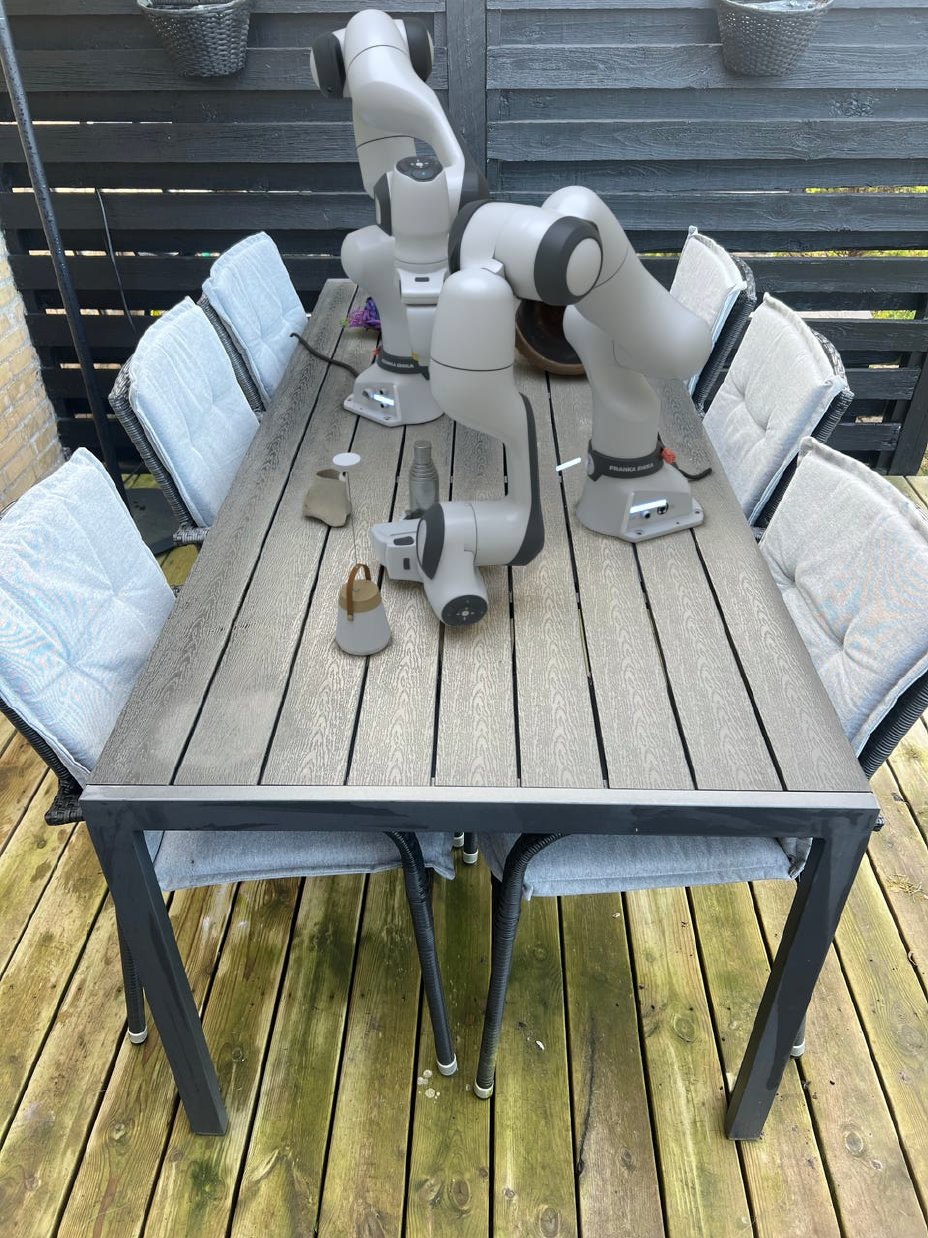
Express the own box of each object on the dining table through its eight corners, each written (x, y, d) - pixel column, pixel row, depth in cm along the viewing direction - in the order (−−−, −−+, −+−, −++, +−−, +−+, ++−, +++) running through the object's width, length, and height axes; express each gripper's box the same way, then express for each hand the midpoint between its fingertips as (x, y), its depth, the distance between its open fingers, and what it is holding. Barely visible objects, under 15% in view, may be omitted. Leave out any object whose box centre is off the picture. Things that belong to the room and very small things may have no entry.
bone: (352, 523, 169) (358, 468, 167) (345, 530, 162) (351, 474, 159) (303, 516, 169) (308, 461, 167) (294, 523, 162) (299, 466, 159)
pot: (527, 218, 229) (547, 194, 200) (639, 277, 234) (675, 262, 205) (471, 342, 235) (483, 336, 206) (582, 397, 240) (609, 398, 211)
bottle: (446, 540, 161) (444, 441, 150) (429, 553, 158) (425, 453, 146) (423, 531, 163) (419, 433, 152) (405, 544, 160) (400, 445, 149)
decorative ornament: (459, 312, 230) (337, 314, 227) (457, 347, 238) (340, 349, 236) (454, 280, 238) (336, 281, 235) (453, 315, 246) (339, 317, 244)
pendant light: (377, 661, 135) (361, 478, 117) (326, 649, 137) (303, 468, 119) (399, 628, 141) (388, 450, 123) (351, 617, 143) (332, 440, 125)
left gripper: (402, 251, 153) (405, 332, 162) (401, 297, 137) (404, 384, 146) (440, 251, 153) (441, 332, 162) (443, 296, 138) (444, 383, 146)
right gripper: (505, 529, 147) (482, 487, 158) (377, 546, 143) (363, 502, 154) (504, 562, 151) (482, 519, 162) (380, 580, 147) (366, 535, 158)
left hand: (424, 357), depth 154 cm, fingers closed on cap, 4 cm apart
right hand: (423, 511), depth 158 cm, fingers closed on bottle, 5 cm apart
